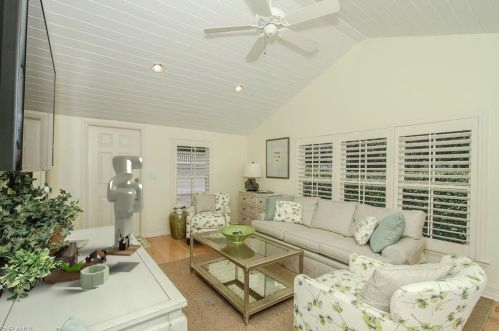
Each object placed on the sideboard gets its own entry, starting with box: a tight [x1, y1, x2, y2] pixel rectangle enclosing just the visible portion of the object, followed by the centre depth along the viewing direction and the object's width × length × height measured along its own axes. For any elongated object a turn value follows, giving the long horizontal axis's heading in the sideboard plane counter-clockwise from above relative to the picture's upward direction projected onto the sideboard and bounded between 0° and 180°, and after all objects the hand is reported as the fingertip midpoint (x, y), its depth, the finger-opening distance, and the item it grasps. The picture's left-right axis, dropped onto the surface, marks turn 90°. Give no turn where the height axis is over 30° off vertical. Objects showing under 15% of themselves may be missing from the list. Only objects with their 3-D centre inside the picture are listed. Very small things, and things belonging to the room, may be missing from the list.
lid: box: [106, 238, 141, 257], centre depth 127 cm, size 12×12×6 cm
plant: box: [44, 251, 98, 285], centre depth 119 cm, size 20×20×11 cm
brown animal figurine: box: [84, 249, 108, 264], centre depth 133 cm, size 12×10×8 cm
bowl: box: [79, 264, 110, 290], centre depth 110 cm, size 10×10×6 cm
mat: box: [109, 261, 141, 273], centre depth 127 cm, size 12×12×1 cm
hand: (124, 248), depth 127 cm, fingers closed on lid, 3 cm apart
